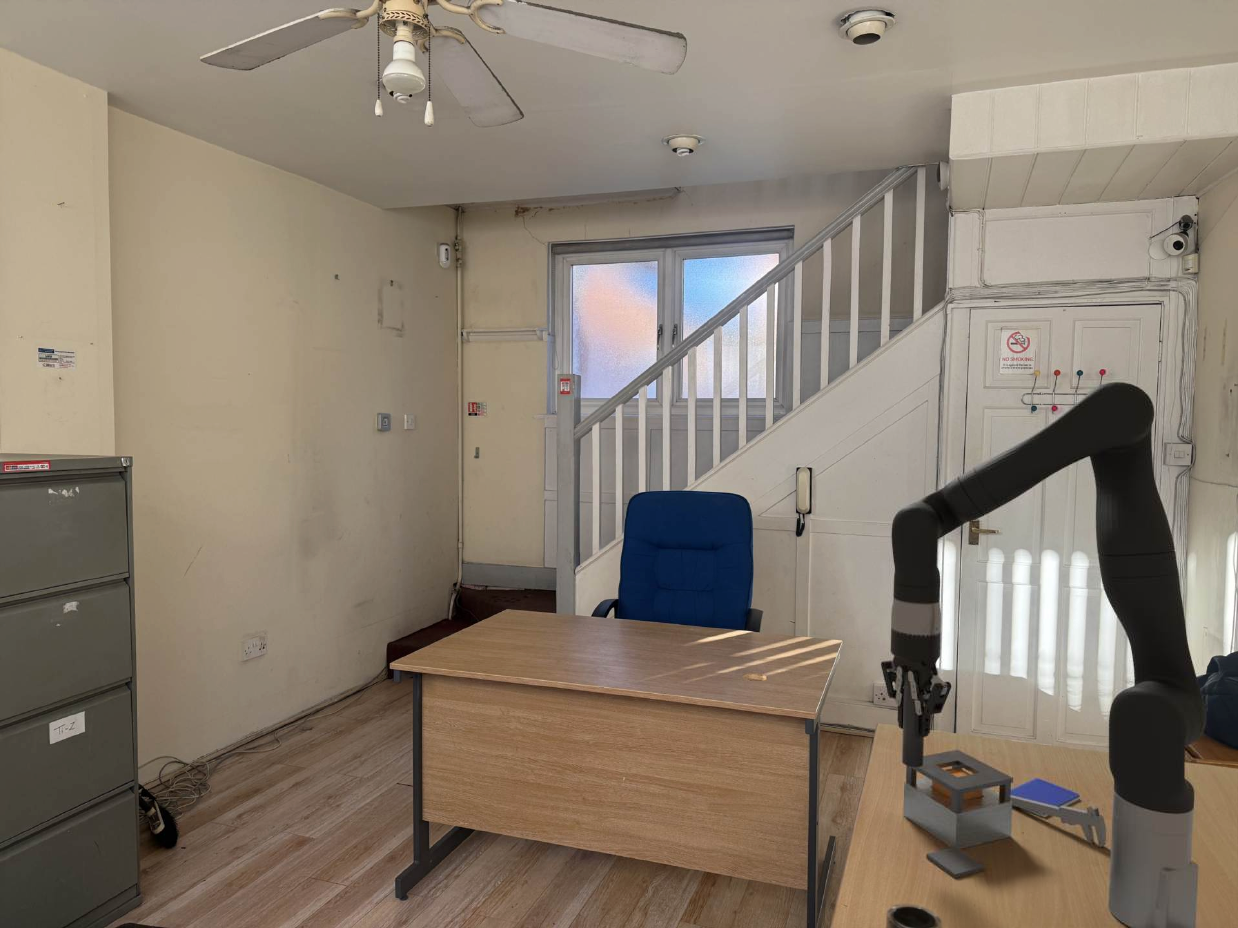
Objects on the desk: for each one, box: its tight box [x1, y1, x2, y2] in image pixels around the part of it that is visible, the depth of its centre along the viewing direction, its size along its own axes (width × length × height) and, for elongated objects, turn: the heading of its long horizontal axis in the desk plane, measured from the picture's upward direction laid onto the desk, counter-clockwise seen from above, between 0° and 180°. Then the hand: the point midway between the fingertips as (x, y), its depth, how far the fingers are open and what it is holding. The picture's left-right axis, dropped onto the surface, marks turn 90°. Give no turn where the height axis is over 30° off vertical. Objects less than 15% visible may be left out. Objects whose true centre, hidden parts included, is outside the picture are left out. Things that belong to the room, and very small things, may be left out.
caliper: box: [995, 791, 1107, 848], centre depth 137 cm, size 20×1×6 cm, turn 31°
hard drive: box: [1011, 777, 1081, 818], centre depth 145 cm, size 2×8×12 cm
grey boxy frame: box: [902, 749, 1014, 850], centre depth 134 cm, size 12×12×10 cm
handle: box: [901, 672, 925, 767], centre depth 127 cm, size 3×3×15 cm
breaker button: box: [932, 767, 983, 801], centre depth 134 cm, size 6×6×5 cm
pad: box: [925, 847, 986, 879], centre depth 123 cm, size 6×6×1 cm
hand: (913, 731), depth 127 cm, fingers closed on handle, 3 cm apart
